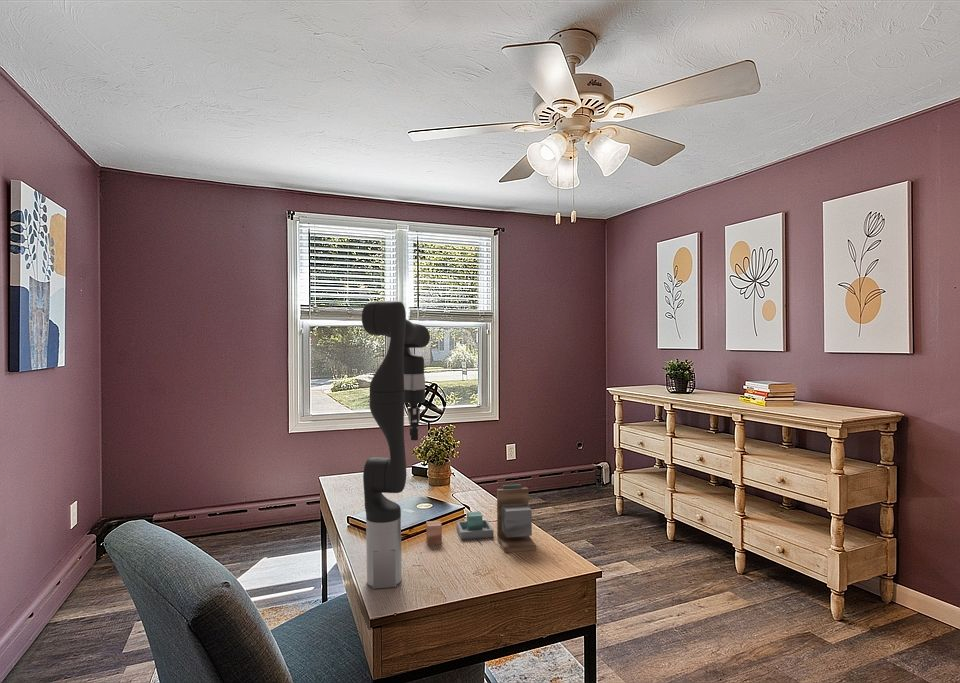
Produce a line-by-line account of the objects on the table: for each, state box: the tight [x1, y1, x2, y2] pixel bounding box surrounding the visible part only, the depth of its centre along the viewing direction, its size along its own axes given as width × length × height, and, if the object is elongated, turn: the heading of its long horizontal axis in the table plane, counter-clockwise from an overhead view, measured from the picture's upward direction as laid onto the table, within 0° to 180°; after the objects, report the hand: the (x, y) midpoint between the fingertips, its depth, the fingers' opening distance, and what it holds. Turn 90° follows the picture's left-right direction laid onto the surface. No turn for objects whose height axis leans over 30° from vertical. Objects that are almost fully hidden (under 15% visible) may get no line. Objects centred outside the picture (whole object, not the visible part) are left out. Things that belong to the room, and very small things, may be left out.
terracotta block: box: [425, 520, 443, 546], centre depth 182 cm, size 4×4×6 cm
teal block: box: [466, 511, 484, 531], centre depth 189 cm, size 4×4×6 cm
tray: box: [456, 519, 494, 541], centre depth 189 cm, size 11×11×2 cm
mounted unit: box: [496, 483, 537, 553], centre depth 178 cm, size 10×10×18 cm
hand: (413, 437), depth 184 cm, fingers open, 8 cm apart
